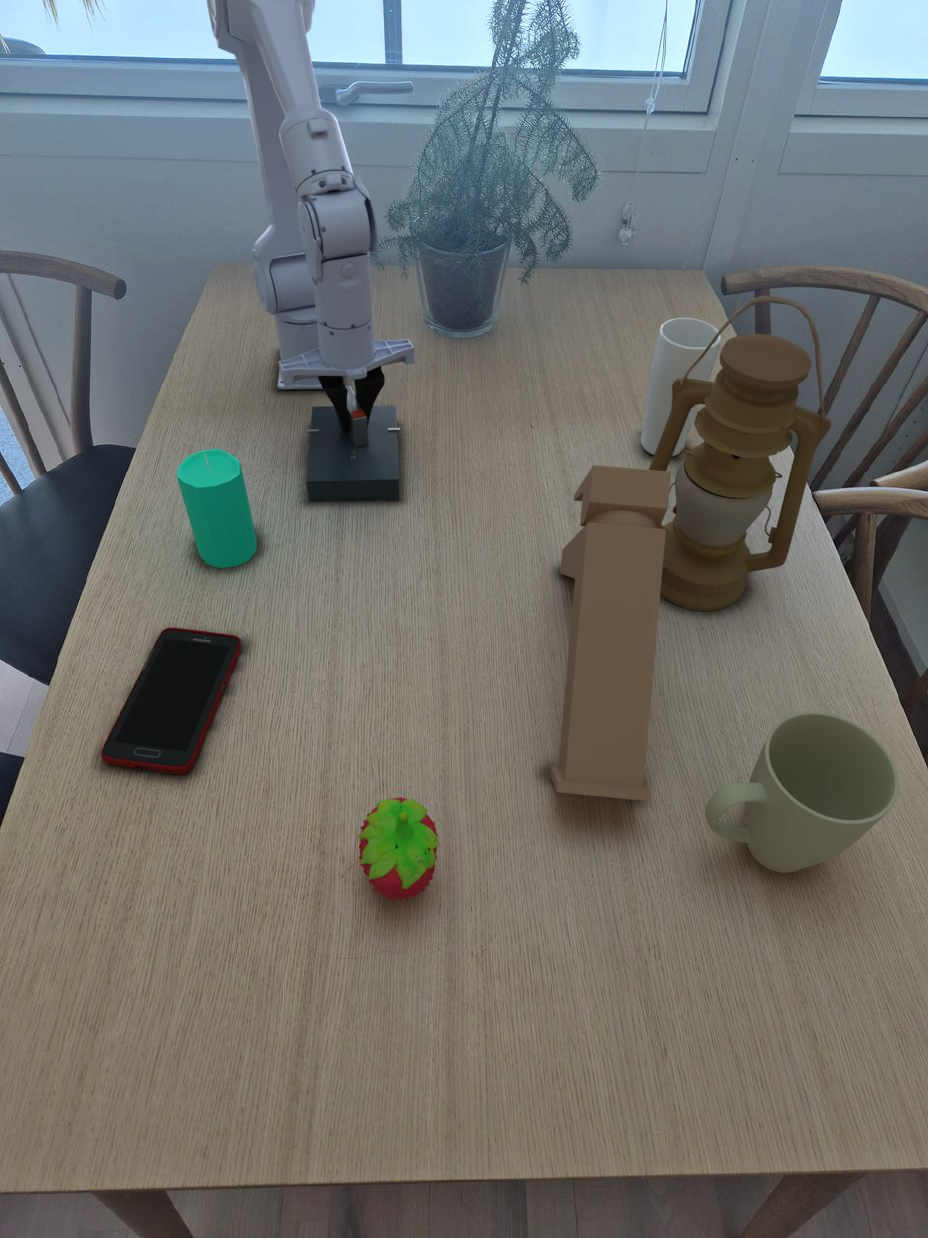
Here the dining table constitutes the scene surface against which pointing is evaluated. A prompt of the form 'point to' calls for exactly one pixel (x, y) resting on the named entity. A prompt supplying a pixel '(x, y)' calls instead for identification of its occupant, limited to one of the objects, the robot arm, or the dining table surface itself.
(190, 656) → the cell phone
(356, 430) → the tap handle
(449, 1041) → the dining table surface
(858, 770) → the mug
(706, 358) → the white cup
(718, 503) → the lantern
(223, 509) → the candle
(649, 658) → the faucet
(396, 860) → the strawberry
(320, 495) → the plate
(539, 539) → the dining table surface
